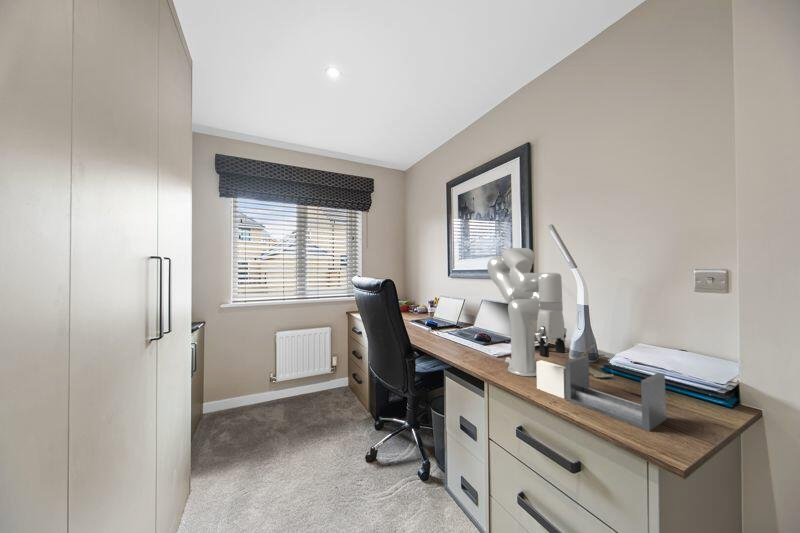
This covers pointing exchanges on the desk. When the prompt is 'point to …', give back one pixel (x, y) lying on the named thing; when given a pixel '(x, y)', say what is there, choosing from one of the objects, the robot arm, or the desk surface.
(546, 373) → the door
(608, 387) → the desk surface
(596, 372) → the jawbone
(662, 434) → the desk surface
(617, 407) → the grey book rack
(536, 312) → the robot arm
